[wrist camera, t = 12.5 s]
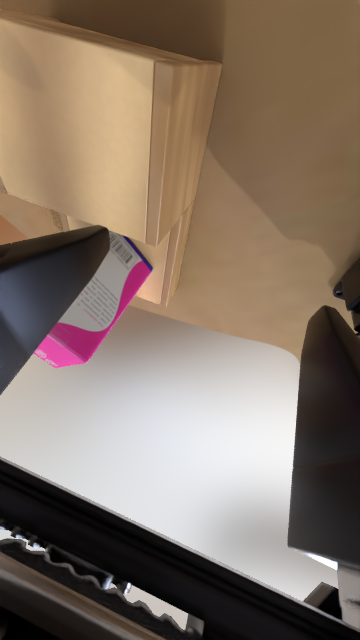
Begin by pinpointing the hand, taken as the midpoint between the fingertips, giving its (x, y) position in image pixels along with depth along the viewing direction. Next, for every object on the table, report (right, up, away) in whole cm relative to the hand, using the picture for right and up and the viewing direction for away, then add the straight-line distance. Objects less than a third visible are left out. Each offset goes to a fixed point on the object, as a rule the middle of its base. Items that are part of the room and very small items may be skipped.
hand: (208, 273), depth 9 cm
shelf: (-6, +10, +13) cm, 17 cm away
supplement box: (-7, +5, +14) cm, 17 cm away
